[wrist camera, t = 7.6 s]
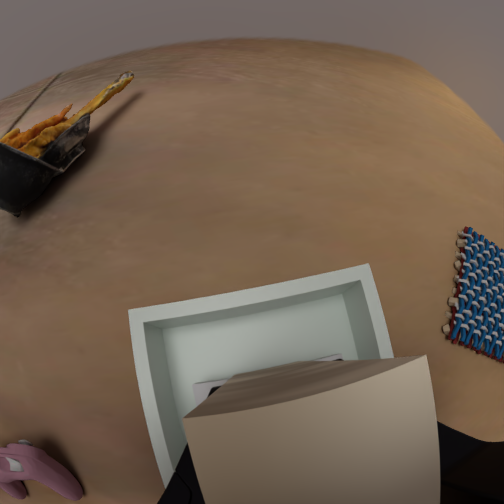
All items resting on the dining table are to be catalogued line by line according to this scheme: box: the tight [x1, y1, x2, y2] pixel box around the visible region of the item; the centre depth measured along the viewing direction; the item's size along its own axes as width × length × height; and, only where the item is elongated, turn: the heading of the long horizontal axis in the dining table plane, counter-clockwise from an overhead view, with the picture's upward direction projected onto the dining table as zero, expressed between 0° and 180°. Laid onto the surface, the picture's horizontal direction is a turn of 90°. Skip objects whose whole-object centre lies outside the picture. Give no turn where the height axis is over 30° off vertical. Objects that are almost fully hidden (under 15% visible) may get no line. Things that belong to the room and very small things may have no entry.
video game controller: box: [0, 439, 83, 501], centre depth 11 cm, size 10×5×7 cm, turn 116°
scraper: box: [182, 353, 440, 504], centre depth 9 cm, size 8×3×13 cm, turn 101°
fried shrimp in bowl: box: [0, 71, 134, 217], centre depth 20 cm, size 9×11×18 cm
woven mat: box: [443, 227, 504, 363], centre depth 18 cm, size 10×11×2 cm
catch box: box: [128, 263, 394, 489], centre depth 15 cm, size 14×12×4 cm
